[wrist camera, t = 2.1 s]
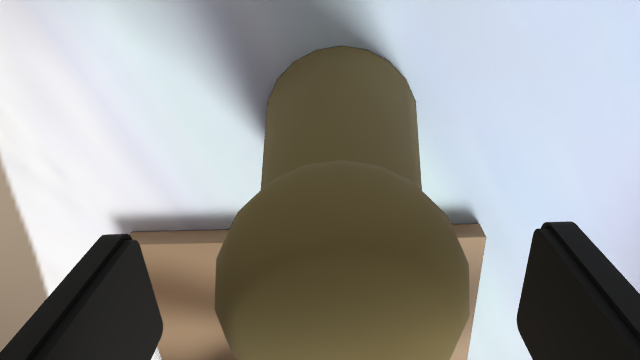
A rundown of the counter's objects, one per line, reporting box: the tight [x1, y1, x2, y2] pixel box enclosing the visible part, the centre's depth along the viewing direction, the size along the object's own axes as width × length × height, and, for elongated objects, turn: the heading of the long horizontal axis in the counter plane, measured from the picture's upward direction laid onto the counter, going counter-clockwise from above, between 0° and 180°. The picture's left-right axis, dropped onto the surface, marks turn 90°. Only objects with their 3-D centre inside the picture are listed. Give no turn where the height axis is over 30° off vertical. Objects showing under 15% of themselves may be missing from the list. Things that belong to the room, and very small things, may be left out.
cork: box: [214, 46, 470, 360], centre depth 12 cm, size 6×6×11 cm
